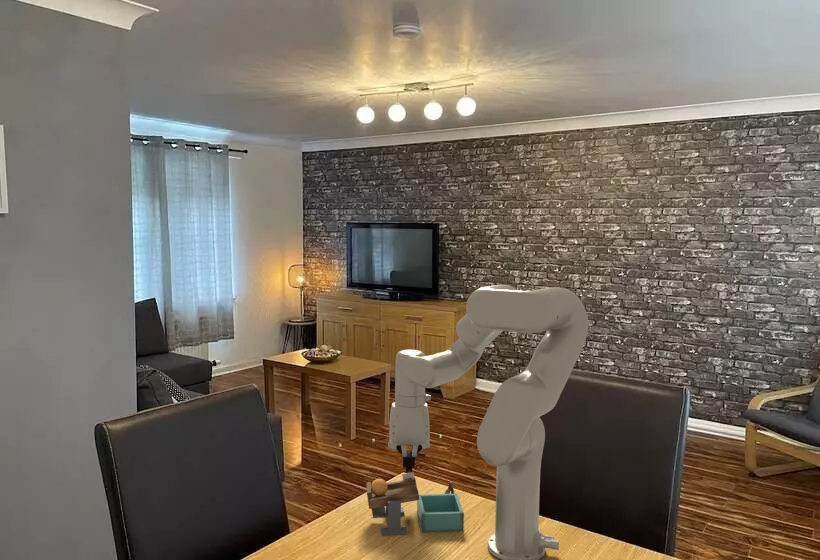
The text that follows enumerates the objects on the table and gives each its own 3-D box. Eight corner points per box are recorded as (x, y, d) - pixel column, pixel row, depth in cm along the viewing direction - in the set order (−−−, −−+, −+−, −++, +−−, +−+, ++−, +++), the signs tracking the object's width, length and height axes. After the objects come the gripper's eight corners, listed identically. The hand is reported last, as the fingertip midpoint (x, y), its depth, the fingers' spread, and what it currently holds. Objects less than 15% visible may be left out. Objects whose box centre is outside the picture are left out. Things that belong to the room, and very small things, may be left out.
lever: (416, 486, 161) (412, 462, 161) (421, 511, 147) (417, 485, 147) (370, 495, 161) (366, 471, 160) (371, 521, 147) (366, 494, 146)
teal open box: (456, 510, 158) (456, 493, 157) (463, 531, 147) (463, 513, 147) (417, 512, 157) (417, 494, 157) (421, 532, 147) (421, 514, 146)
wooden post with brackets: (458, 492, 167) (455, 480, 165) (446, 515, 161) (443, 502, 159) (452, 491, 168) (449, 478, 166) (440, 514, 161) (437, 501, 159)
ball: (390, 491, 152) (388, 476, 151) (385, 499, 148) (383, 483, 148) (374, 491, 153) (373, 475, 152) (369, 498, 149) (367, 482, 149)
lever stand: (403, 510, 158) (403, 481, 157) (407, 535, 145) (407, 503, 145) (379, 511, 157) (379, 482, 157) (381, 535, 145) (381, 504, 144)
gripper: (437, 395, 161) (436, 463, 163) (379, 395, 160) (378, 464, 161) (441, 403, 153) (439, 475, 155) (380, 404, 152) (379, 476, 154)
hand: (408, 470), depth 158 cm, fingers closed
